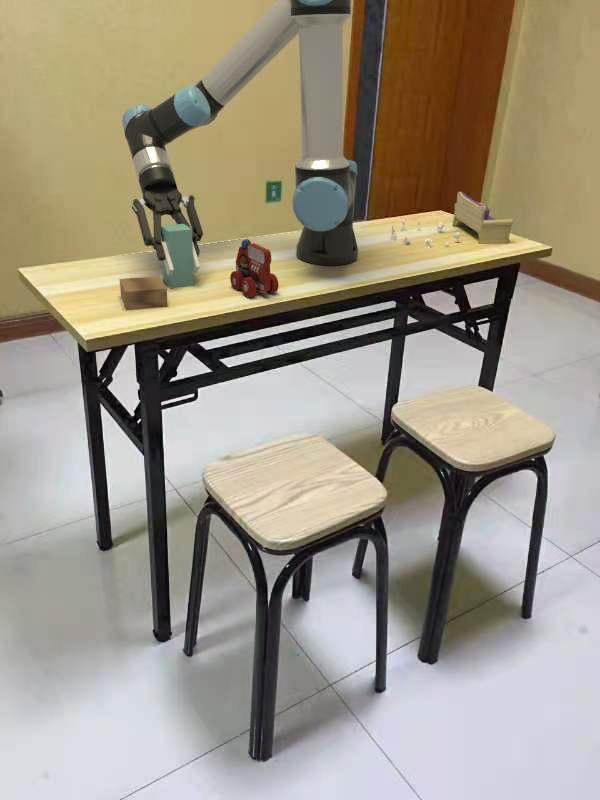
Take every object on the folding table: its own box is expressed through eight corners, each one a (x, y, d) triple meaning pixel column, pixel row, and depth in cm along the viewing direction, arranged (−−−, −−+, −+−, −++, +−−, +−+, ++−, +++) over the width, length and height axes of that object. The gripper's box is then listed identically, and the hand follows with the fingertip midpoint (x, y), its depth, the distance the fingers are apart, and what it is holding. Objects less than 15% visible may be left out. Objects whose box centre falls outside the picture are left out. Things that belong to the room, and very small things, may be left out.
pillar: (186, 278, 150) (183, 223, 144) (194, 285, 146) (191, 229, 141) (164, 281, 148) (160, 225, 142) (171, 288, 144) (168, 231, 138)
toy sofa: (509, 245, 186) (516, 206, 181) (479, 245, 184) (486, 207, 179) (478, 225, 204) (483, 190, 199) (450, 225, 202) (455, 190, 197)
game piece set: (424, 227, 200) (426, 214, 198) (475, 244, 186) (477, 230, 184) (373, 235, 190) (374, 221, 189) (422, 253, 176) (423, 238, 174)
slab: (160, 294, 141) (159, 276, 140) (167, 308, 135) (166, 288, 133) (121, 297, 139) (119, 279, 137) (126, 311, 132) (124, 291, 130)
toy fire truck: (253, 280, 151) (253, 233, 146) (282, 297, 142) (284, 247, 137) (225, 284, 148) (224, 236, 143) (253, 302, 139) (253, 252, 134)
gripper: (191, 183, 155) (220, 275, 150) (111, 187, 147) (138, 284, 142) (198, 162, 148) (229, 257, 143) (115, 166, 140) (144, 267, 135)
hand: (184, 271), depth 142 cm, fingers closed on pillar, 5 cm apart
